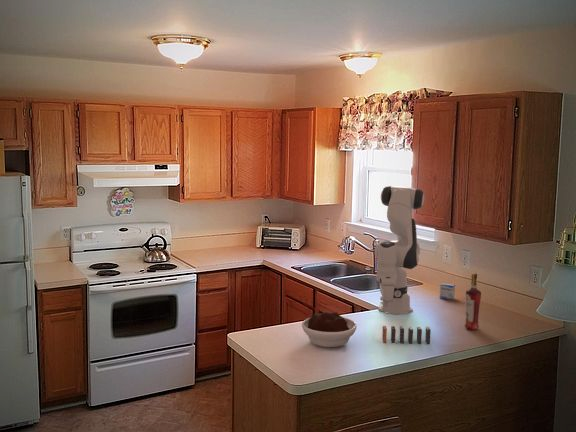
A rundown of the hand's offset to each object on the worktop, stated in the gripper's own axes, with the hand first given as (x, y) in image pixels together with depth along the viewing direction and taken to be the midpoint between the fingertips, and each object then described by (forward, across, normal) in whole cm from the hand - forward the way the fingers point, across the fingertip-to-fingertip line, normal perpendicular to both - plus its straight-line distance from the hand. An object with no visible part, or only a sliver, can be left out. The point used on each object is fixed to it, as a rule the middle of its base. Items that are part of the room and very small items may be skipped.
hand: (385, 306), depth 273 cm
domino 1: (+17, 0, 0) cm, 17 cm away
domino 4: (+17, 0, +12) cm, 21 cm away
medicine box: (+17, -77, +46) cm, 91 cm away
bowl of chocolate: (+17, +4, -26) cm, 32 cm away
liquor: (+17, -22, +46) cm, 54 cm away
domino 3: (+17, 0, +8) cm, 19 cm away
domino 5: (+17, 0, +16) cm, 23 cm away
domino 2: (+17, 0, +4) cm, 18 cm away
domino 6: (+17, 0, +20) cm, 26 cm away
